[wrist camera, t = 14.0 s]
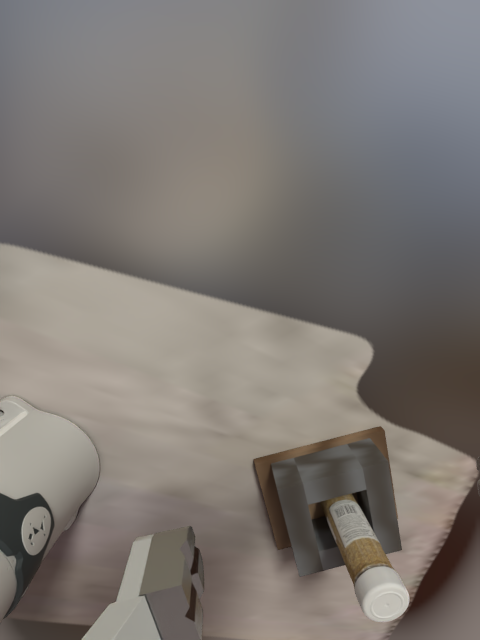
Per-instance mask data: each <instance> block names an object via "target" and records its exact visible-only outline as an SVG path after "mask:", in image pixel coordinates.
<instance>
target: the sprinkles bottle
mask: <svg viewBox="0 0 480 640" xmlns="http://www.w3.org/2000/svg"><path fill="white" fill-rule="evenodd" d="M319 504H320V505H321V507H322V509H323V511H324V514H325V516H326V518H327V522H328V525H329V527H330V530H331V532H332V535H333V537H334V539H335V542H336V544H337V545H338V548H339V550H340V553H341V555H342V558H343V560H344V562H345V565H346V567H347V570H348V572H349V574H350V577H351V579H352V581H353V584H354V588H355V594H356V597H357V599H358V602H359V604H360V606H361V608H362V611H363V613H364V614H365V615H366V616H367V617H368V618H369V619H371V620H373V621H376V622H387V621H391V620H394V619H396V618H398V617H399V616H401V615H402V614H403V613H404V612H405V610H406V609H407V607H408V604H409V594H408V591H407V589H406V587H405V585H404V584H403V582H402V580H401V578H400V576H399V575H398V573H397V572H396V571H395V570H394V568H393V567H392V566H391V564H390V562H389V560H388V558H387V556H386V554H385V553H384V551H383V549H382V547H381V544H380V542H379V541H378V539H377V537H376V535H375V533H374V532H373V530H372V528H371V526H370V524H369V522H368V521H367V519H366V517H365V515H364V513H363V512H362V510H361V508H360V506H359V505H358V503H357V502H356V500H355V498H354V496H353V495H352V493H351V494H348V495H344V496H340V497H336V498H332V499H328V500H325V501H321V502H319Z"/></svg>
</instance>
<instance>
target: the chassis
mask: <svg viewBox="0 0 480 640" xmlns="http://www.w3.org/2000/svg"><path fill="white" fill-rule="evenodd" d="M254 463H255V467H256V471H257V475H258V478H259V482H260V486H261V490H262V493H263V497H264V501H265V504H266V508H267V512H268V515H269V519H270V523H271V526H272V530H273V534H274V537H275V541H276V545H277V548H278V550H280V549H284V548H288V547H291V546H292V549H293V553H294V557H295V561H296V565H297V569H298V573H299V576H300V577H301V576H305V575H309V574H312V573H316V572H320V571H324V570H328V569H331V568H335V567H339V566H343V565H345V562H344V560H343V558H342V555H341V553H340V550H339V548H338V545H337V544H336V542H335V539H334V537H333V535H332V532H331V530H330V527H329V525H328V522H327V518H326V516H325V514H324V511H323V509H322V507H321V505H320V504H319V502H321V501H325V500H328V499H332V498H336V497H340V496H344V495H348V494H351V493H352V495H353V496H354V498H355V500H356V502H357V503H358V505H359V506H360V508H361V510H362V512H363V513H364V515H365V517H366V519H367V521H368V522H369V524H370V526H371V528H372V530H373V532H374V533H375V535H376V537H377V539H378V541H379V542H380V544H381V547H382V549H383V551H384V553H385V554H388V553H392V552H396V551H400V550H402V547H401V541H400V534H399V528H398V521H397V519H398V516H397V509H396V503H395V496H394V490H393V483H392V477H391V470H390V463H389V457H388V450H387V444H386V437H385V431H384V430H383V428H382V427H381V426H380V427H376V428H372V429H368V430H364V431H361V432H357V433H353V434H349V435H345V436H341V437H337V438H334V439H330V440H326V441H322V442H318V443H314V444H310V445H307V446H303V447H299V448H295V449H291V450H287V451H283V452H280V453H276V454H272V455H268V456H264V457H260V458H256V459H254Z"/></svg>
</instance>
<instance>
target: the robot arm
mask: <svg viewBox="0 0 480 640" xmlns="http://www.w3.org/2000/svg"><path fill="white" fill-rule="evenodd" d="M1 410H3V411H4V413H3V412H1ZM477 470H478V471H479V472H480V457H479V458H478V459H477ZM99 471H100V464H99V458H98V454H97V451H96V449H95V447H94V445H93V443H92V442H91V440H90V439H89V437H88V436H87V435H86V434H85V433H84V432H83V431H82V430H81V429H80V428H79V427H77V426H76V425H75V424H73V423H72V422H70V421H68V420H66V419H64V418H62V417H60V416H57V415H54V414H50V413H47V412H43V411H40V410H38V409H35V408H34V407H33V406H31V405H30V404H28V403H27V402H25V401H24V400H22V399H20V398H18V397H16V396H8V397H5V398H3V399H1V400H0V623H1V622H2V620H3V619H4V618H5V617H7V616H8V615H9V614H10V613H11V612H12V611H13V609H14V608H15V607H16V605H17V604H18V602H19V600H20V599H21V598H22V597H23V595H24V594H25V592H26V591H27V589H28V587H29V584H30V582H31V580H32V579H33V577H34V575H35V573H36V572H37V570H38V568H39V566H40V564H41V562H42V561H43V559H44V558H45V557H46V555H47V554H48V552H49V551H50V549H51V548H52V546H53V545H54V544H55V542H56V541H57V539H58V538H59V536H60V535H61V533H62V532H63V531H65V530H67V529H69V528H70V527H71V525H72V524H73V522H74V521H75V519H76V516H77V513H78V509H79V507H80V506H81V504H82V503H83V502H84V501H85V500H86V498H87V497H88V496H89V495H90V494H91V492H92V491H93V489H94V488H95V486H96V484H97V481H98V477H99ZM478 493H479V495H480V479H479V481H478ZM194 545H195V535H194V532H193V529H192V527H191V526H187V527H182V528H178V529H173V530H168V531H163V532H159V533H155V534H151V535H146V536H141V537H137V538H136V539H135V541H134V542H133V545H132V548H131V552H130V555H129V558H128V562H127V565H126V569H125V572H124V576H123V579H122V582H121V586H120V589H119V593H118V596H117V599H116V602H114V603H111V604H109V605H108V607H107V608H106V609H105V610H104V612H103V613H102V614H101V615H100V617H99V618H98V619H97V620H96V622H95V623H94V624H93V626H92V627H91V628H90V629H89V631H88V632H87V633H86V635H85V636H84V637H83V638H82V639H81V640H202V620H203V609H202V606H201V603H200V600H199V599H200V597H201V595H202V594H203V592H204V570H203V562H202V557H201V554H200V550H199V549H198V548H197V547H195V546H194Z"/></svg>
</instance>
